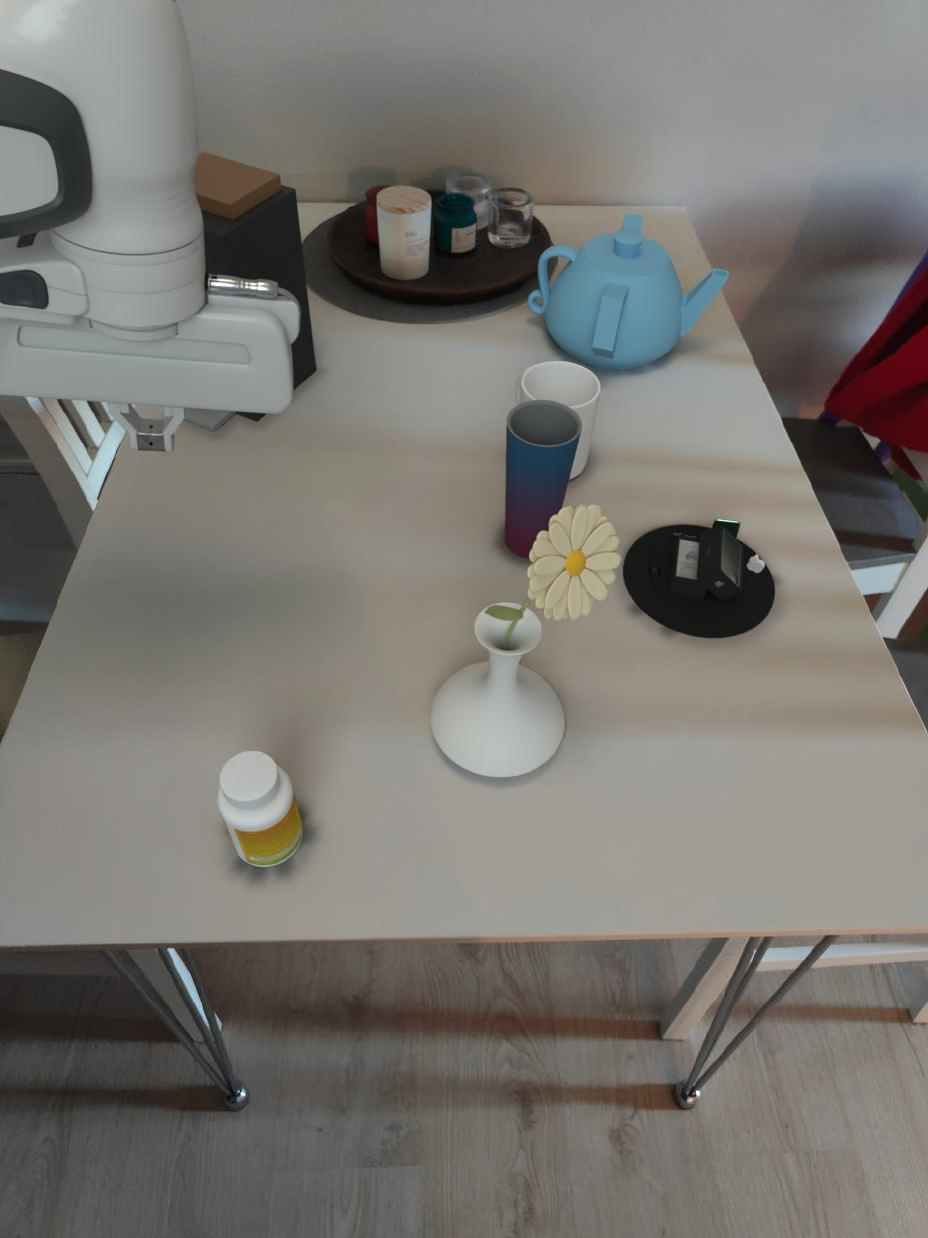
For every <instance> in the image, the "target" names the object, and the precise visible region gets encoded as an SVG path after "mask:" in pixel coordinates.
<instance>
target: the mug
mask: <svg viewBox="0 0 928 1238" xmlns="http://www.w3.org/2000/svg"><path fill="white" fill-rule="evenodd" d="M601 388H602V386H601V383H600V380H599V378H598V377H597V375H595V373H594V372H593V371H592V370H590V369H589V368H587V367H586V366H583V365H581V364H578V363H574V362H571V361H564V360H549V361H543V362H539V363H536V364H534V365H532V366H527V367H525V368H522V370H521V371H520V373H519V374H518V376H517V379H516V384H515V401H516V406H517V405H519V404H521V403H524V402H527V401H531V400H550V401H555V402H558V403H561V404H564V405H566V406H568V407H569V408H571V409H572V410H574V411H575V412H576V413H577V414H578V416H579V417H580V419H581V422H582V430H581V434H580V438H579V442H578V446H577V450H576V454H575V458H574V462H573V466H572V470H571V474H570V478H569V481H570V480H572V479H574V478H576V477H578V475H580V474H581V473H582V472H583V471H584V469H585V467H586V465H587V462H588V459H589V454H590V449H591V445H592V439H593V434H594V428H595V423H596V416H597V412H598V406H599V400H600V396H601V390H602V389H601Z"/></svg>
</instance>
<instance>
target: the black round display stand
mask: <svg viewBox="0 0 928 1238" xmlns="http://www.w3.org/2000/svg"><path fill="white" fill-rule="evenodd" d="M741 525H742V523H741V522H740V520H731V519H724V518H723V519H722V518H715V519H714V520H713V523H712V527H709V526H704V525H698V524H672V525H665V526H661V527H658V528H654V529H652V530H650V531H648V532H646V533H644V534H643V535H641V536H640V537H639V538H637V539H636V540H635V541H634V542H633V543H632V544H631V546H630V547H629V548H628V550H627V552H626V554H625V558H624V561H623V565H622V576H623V582H624V586H625V589H626V590H627V592H628V594H629V596H630V597H631V599H632V600H633V602H634V603H635V604H636V606H637V607H638V608H639V609H640V610H641V611H642V612H643V613H645V614H646V615H647V616H648V617H649V618H651V619H652V620H654V621H655V622H657V623H658V624H659V625H662V626H663V627H665V628H668V629H669V630H672V631H675V632H677V633H680V634H684V635H687V636H692V637H695V638H704V639H705V638H706V639H724V638H730V637H735V636H739V635H742V634H744V633H747V632H749V631H751V630H753V629H754V628H756V627H757V626H759V625H760V624H761V623H762V622H763V621H765V619H766V618H767V616H768V615H769V613H770V612H771V610H772V608H773V605H774V602H775V597H776V587H775V581H774V577H773V575H772V573H771V571H770V569H769V566H768V565H767V564H766V562H765V561H764V560H763V559H762V557H761V556H760V555H759V554H758V553H757V552H756V551H755V550H754V549H753V548H752V547H750V546H749V545H748V544H747V543H745V542H744V541H742V540H740V539H738V538H737V537H738V535H739V532H740V528H741Z"/></svg>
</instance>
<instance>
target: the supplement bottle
mask: <svg viewBox="0 0 928 1238" xmlns="http://www.w3.org/2000/svg"><path fill="white" fill-rule="evenodd" d="M216 803H217V808H218V812H219V815H220V818H221V820H222V821H223V824H224V827H225V829H226V831H227V834H228V837H229V839H230V842H231V844H232V846H233V848H234V850H235V852H236V854H237V855H238V857H239V858H240V859H241V860H242V861H243V862H245V863H247V864H249V865H251V866H254V867H259V868H269V867H274V866H278V865H280V864H282V863H284V862H286V861H287V860H288V859H290V858H291V857H292V856H293V855H294V854H295V853H296V851H297V850H298V849H299V847H300V845H301V843H302V840H303V834H304V827H303V821H302V817H301V813H300V810H299V807H298V802H297V799H296V795H295V790H294V787H293V782H292V780H291V778H290V776H289V774H288V773H287V772H286V771H285V770H284V769H283V768H282V767H281V766H279V765H277V763H276V761H275V760H274V758H272V757H271V756H270V755H269V754H267V753H265V752H263V751H259V750H244V751H242V752H238V753H237V754H235V755H233V756H232V757H230V758H229V759H228V760H227V761H226V762H225V763H224V765H223V766H222V768H221V770H220V773H219V787H218V791H217V796H216Z"/></svg>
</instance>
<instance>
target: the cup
mask: <svg viewBox="0 0 928 1238" xmlns="http://www.w3.org/2000/svg"><path fill="white" fill-rule="evenodd" d="M581 430H582V422H581V419H580V417H579V416H578V414H577V413H576V412H575V411H574V410H572V409H571V408H569V407H568V406H566V405H564V404H561V403H558V402H555V401H550V400H531V401H527V402H524V403H521V404H519V405H517V404H516V405H515V406H514V407H513V408H512V409H511V410H510V411H509V412H508V414H507V416H506V439H505V440H506V441H505V497H504V499H505V506H504V543H505V546H506V547H507V549H508V550H509V551H510V552H512V553H513V554H515V555H516V556H519V557H522V558H527V559H529V554H530V551H531V549H532V548H533V544H534V542H535V541H536V538H537V535H538V533H539V532H541V531H547V532H549V521H550V518H551V517H552V516H554V515H558V512H559V511H560V510H561V509H562V508H563V505H564V501H565V497H566V493H567V490H568V485H569V482H570V480H569V478H570V474H571V470H572V466H573V462H574V458H575V454H576V450H577V446H578V442H579V438H580V434H581Z"/></svg>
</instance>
